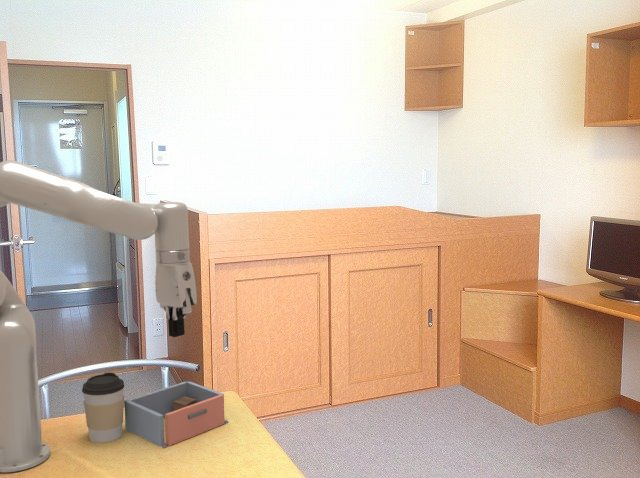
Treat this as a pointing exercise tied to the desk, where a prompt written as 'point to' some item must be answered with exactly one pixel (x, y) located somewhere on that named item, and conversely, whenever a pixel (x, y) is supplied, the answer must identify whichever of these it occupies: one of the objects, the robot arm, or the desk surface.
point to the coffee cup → (104, 407)
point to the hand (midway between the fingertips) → (176, 335)
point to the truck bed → (160, 409)
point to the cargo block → (183, 402)
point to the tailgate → (194, 419)
